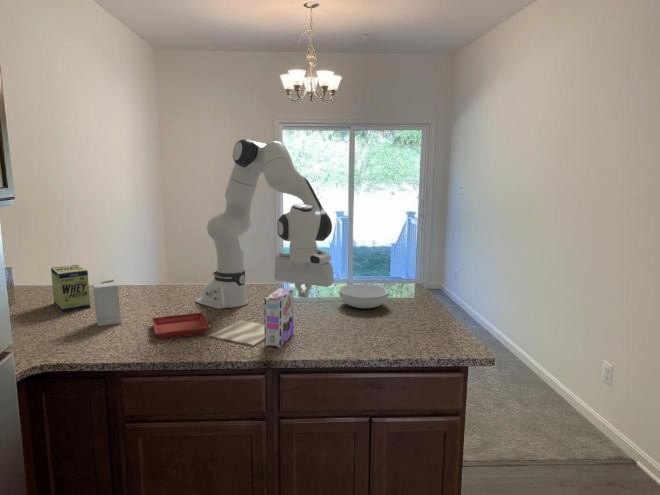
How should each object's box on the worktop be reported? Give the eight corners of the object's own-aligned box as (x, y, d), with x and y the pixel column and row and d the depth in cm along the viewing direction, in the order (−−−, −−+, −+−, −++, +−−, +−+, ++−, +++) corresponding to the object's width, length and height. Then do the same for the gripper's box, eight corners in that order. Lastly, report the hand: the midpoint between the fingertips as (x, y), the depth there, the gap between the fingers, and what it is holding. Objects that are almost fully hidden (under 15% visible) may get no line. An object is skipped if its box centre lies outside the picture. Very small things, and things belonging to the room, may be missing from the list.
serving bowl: (331, 309, 195) (331, 293, 194) (348, 296, 214) (348, 281, 213) (379, 315, 188) (380, 299, 186) (392, 302, 207) (393, 287, 205)
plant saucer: (152, 325, 172) (151, 317, 172) (202, 320, 180) (201, 311, 179) (155, 342, 156) (155, 333, 156) (210, 335, 164) (210, 326, 163)
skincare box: (120, 319, 178) (118, 281, 175) (121, 324, 172) (119, 284, 170) (96, 322, 174) (93, 283, 172) (96, 327, 169) (93, 287, 166)
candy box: (281, 348, 152) (280, 299, 150) (263, 346, 154) (263, 298, 151) (294, 333, 166) (294, 288, 163) (278, 332, 167) (278, 287, 164)
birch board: (209, 337, 161) (209, 335, 161) (241, 321, 177) (241, 320, 177) (253, 346, 154) (253, 344, 154) (282, 329, 170) (282, 327, 170)
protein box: (62, 312, 184) (59, 274, 182) (53, 303, 196) (50, 267, 193) (91, 307, 191) (88, 270, 188) (80, 299, 203) (78, 264, 200)
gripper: (270, 254, 153) (271, 295, 155) (327, 259, 144) (327, 302, 147) (280, 251, 158) (280, 290, 161) (335, 256, 150) (335, 297, 152)
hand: (303, 296), depth 154 cm, fingers closed
